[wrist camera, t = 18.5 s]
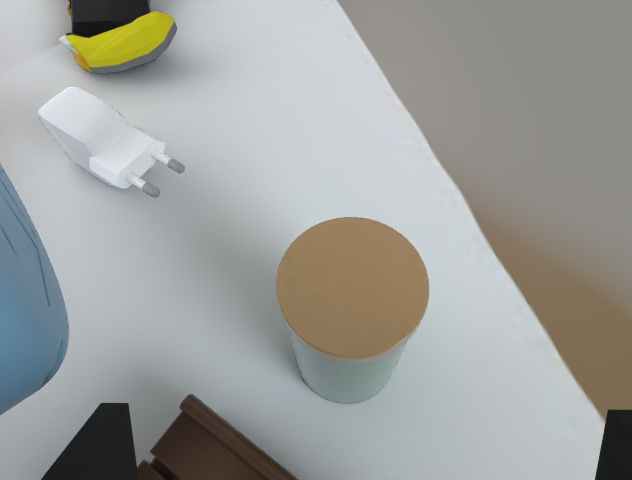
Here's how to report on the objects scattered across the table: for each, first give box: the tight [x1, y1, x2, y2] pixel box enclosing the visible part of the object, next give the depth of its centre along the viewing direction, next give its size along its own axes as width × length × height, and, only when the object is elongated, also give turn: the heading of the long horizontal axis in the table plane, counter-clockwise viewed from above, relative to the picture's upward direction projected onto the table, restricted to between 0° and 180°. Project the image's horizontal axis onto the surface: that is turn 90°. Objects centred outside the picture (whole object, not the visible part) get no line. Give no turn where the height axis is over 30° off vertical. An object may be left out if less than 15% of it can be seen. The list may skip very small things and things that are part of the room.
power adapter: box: [38, 87, 185, 198], centre depth 35 cm, size 11×5×6 cm, turn 55°
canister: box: [276, 217, 429, 404], centre depth 25 cm, size 7×7×11 cm
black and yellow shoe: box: [59, 0, 177, 73], centre depth 44 cm, size 15×6×10 cm
